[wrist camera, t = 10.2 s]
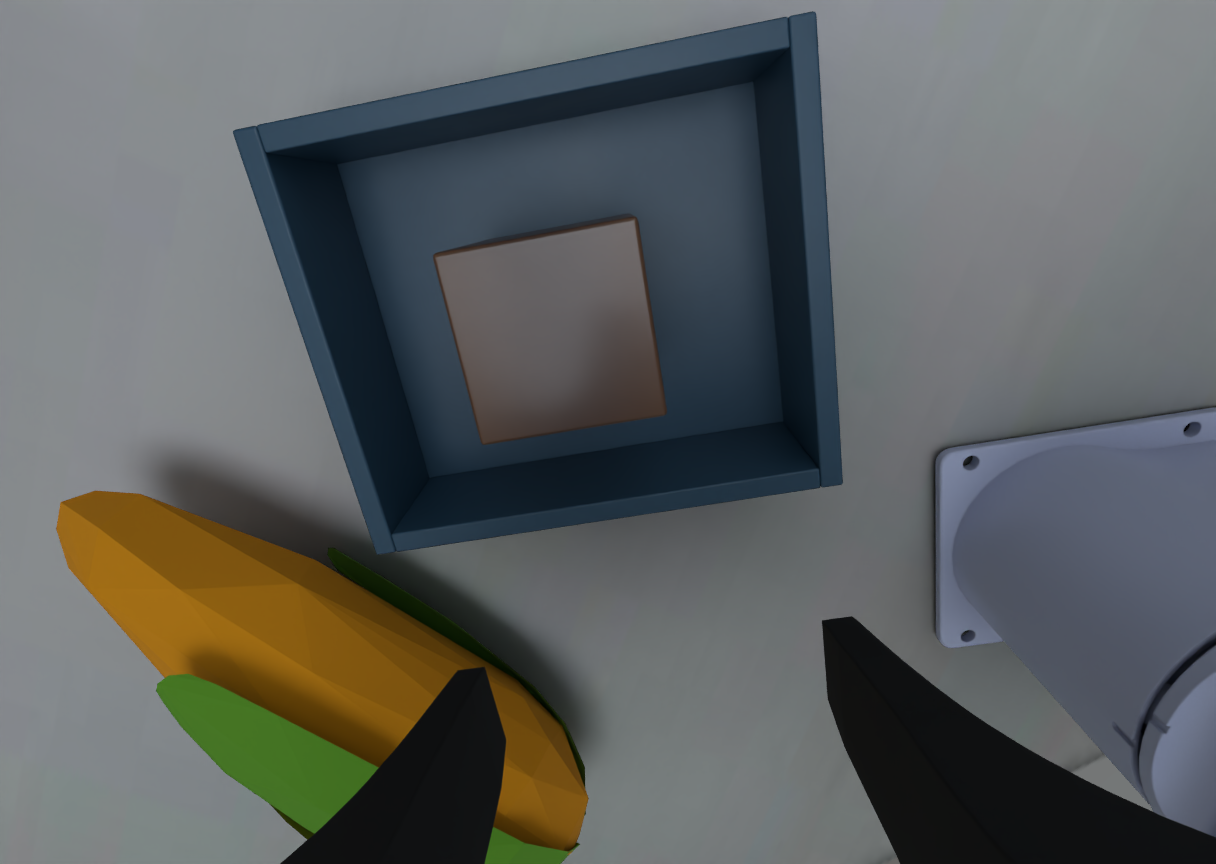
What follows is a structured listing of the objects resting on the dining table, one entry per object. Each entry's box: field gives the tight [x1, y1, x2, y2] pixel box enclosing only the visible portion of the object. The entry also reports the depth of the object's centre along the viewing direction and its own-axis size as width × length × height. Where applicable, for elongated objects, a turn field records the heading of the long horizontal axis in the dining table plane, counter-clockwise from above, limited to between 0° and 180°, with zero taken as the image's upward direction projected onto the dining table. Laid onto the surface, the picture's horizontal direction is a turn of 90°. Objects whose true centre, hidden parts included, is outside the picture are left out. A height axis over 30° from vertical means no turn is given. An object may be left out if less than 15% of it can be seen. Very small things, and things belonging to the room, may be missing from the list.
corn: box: [56, 491, 589, 864], centre depth 21 cm, size 7×8×20 cm
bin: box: [233, 11, 843, 555], centre depth 18 cm, size 13×11×4 cm
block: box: [433, 213, 667, 445], centre depth 17 cm, size 4×4×6 cm
